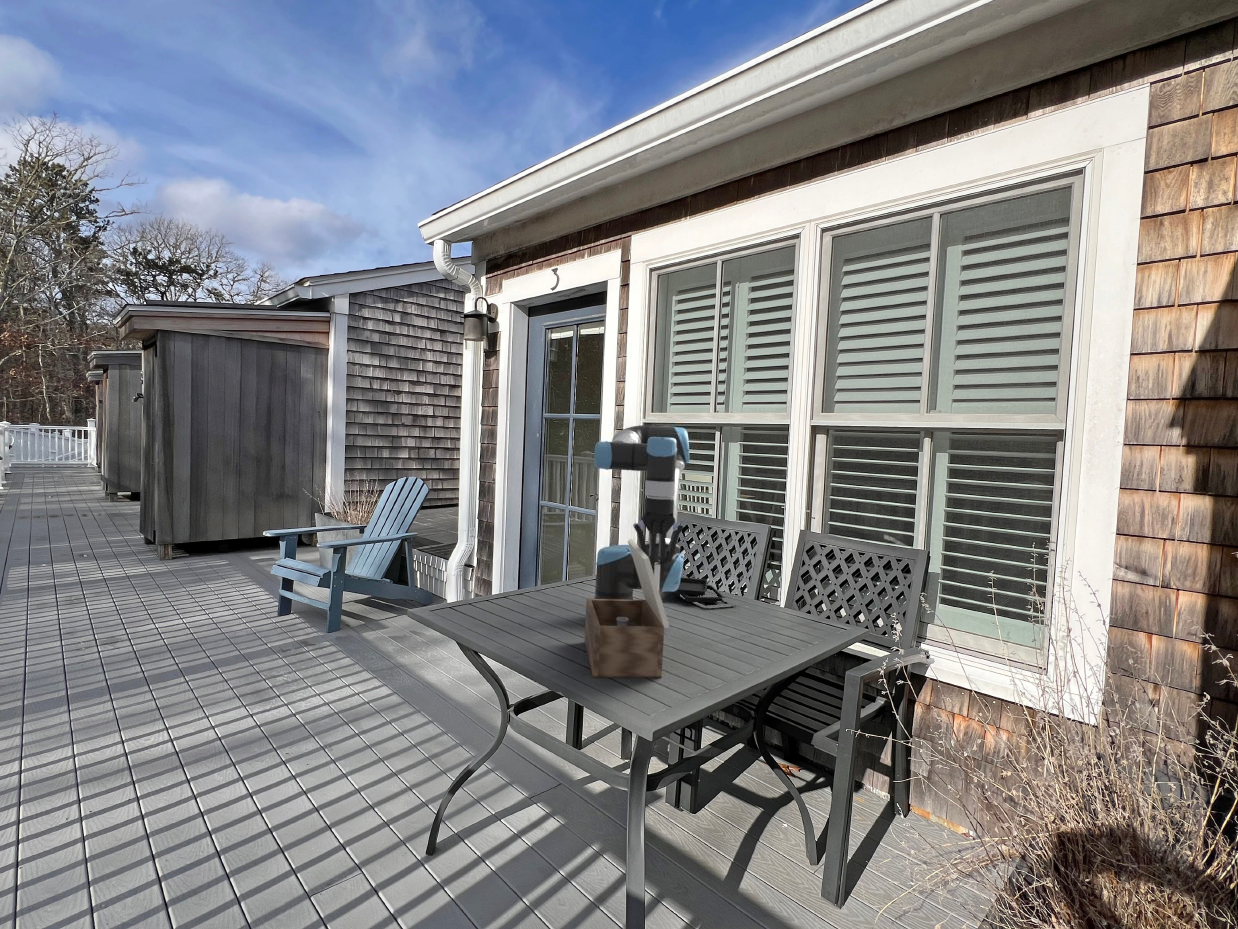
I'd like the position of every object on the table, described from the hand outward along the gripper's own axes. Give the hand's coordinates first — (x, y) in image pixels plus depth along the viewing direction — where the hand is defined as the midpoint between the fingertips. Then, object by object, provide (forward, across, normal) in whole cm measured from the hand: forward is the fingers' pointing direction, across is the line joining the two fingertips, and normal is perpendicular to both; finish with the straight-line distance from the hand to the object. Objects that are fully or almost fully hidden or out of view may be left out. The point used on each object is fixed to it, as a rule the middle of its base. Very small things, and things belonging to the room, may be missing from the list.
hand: (655, 588), depth 167 cm
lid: (-2, +3, 0) cm, 4 cm away
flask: (+18, +8, 0) cm, 20 cm away
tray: (+19, -28, -63) cm, 71 cm away
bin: (+18, +8, 0) cm, 20 cm away
